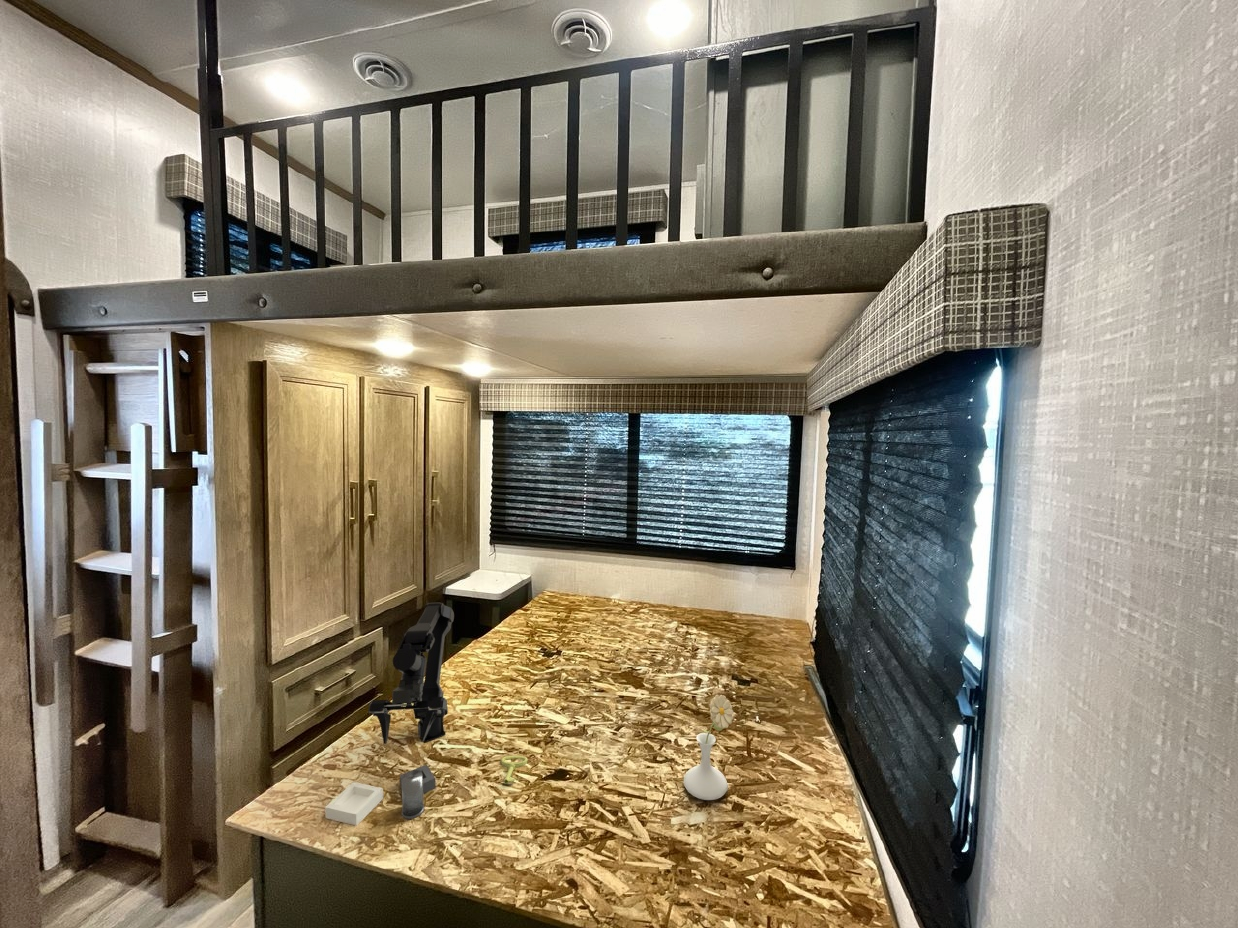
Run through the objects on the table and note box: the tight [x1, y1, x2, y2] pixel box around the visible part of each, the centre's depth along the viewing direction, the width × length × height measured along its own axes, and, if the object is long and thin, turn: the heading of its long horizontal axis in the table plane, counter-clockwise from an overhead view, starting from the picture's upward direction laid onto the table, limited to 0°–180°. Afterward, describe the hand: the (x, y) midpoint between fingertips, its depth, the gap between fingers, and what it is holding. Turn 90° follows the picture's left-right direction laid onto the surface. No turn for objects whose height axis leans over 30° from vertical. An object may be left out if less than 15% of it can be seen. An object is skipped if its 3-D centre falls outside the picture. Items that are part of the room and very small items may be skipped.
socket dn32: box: [399, 764, 437, 795], centre depth 132 cm, size 7×7×3 cm
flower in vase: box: [683, 694, 734, 801], centre depth 131 cm, size 13×11×25 cm
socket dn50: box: [324, 781, 384, 826], centre depth 125 cm, size 9×9×3 cm
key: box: [501, 755, 528, 785], centre depth 139 cm, size 7×12×2 cm, turn 17°
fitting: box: [401, 769, 425, 820], centre depth 124 cm, size 5×5×9 cm
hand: (403, 742), depth 129 cm, fingers open, 9 cm apart
